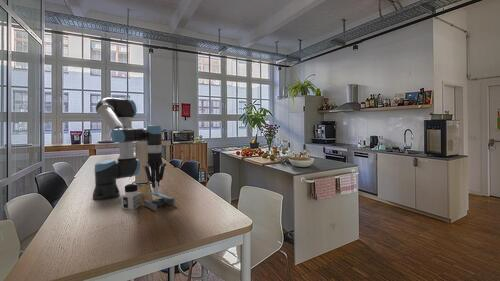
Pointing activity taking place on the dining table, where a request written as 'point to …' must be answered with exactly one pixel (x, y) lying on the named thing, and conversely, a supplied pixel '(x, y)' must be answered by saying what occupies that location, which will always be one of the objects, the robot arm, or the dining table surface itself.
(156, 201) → the dark grey rounded disc
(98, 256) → the dining table surface
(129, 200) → the container
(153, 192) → the lid
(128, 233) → the dining table surface
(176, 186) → the dining table surface
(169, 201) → the dark grey shallow box
